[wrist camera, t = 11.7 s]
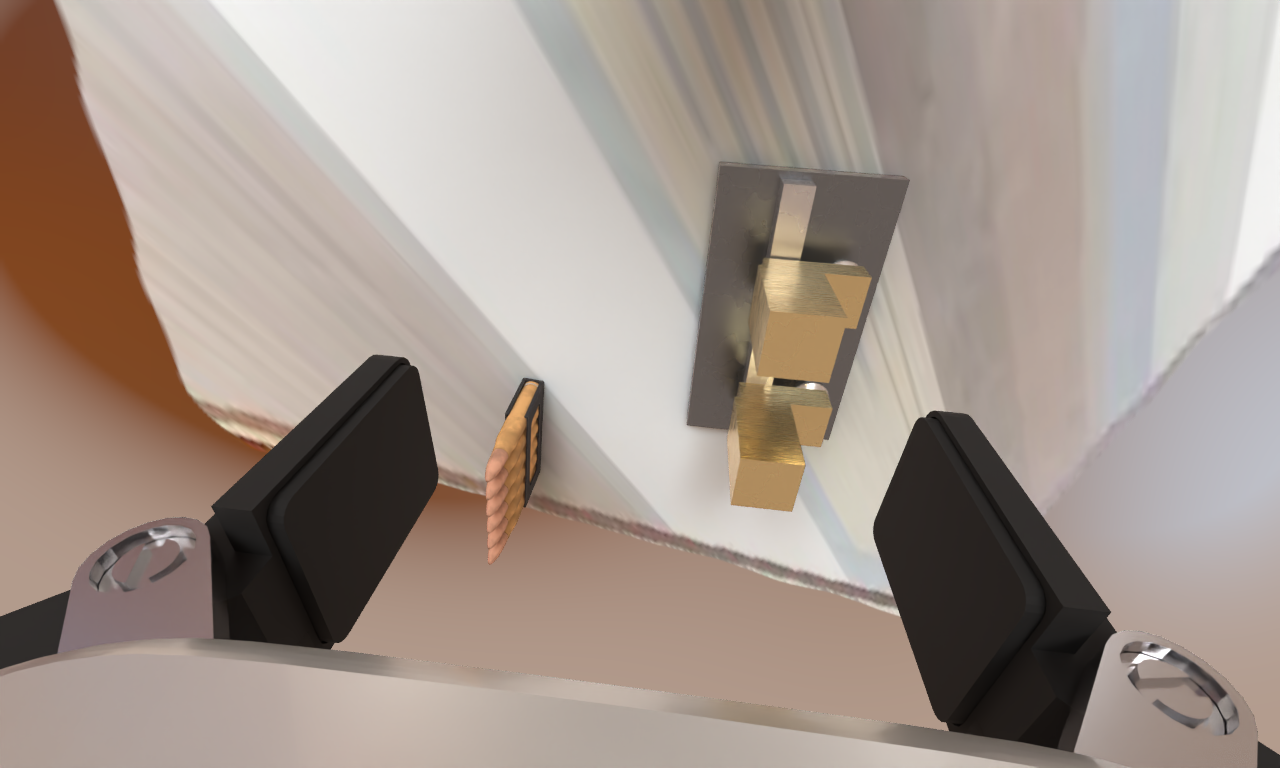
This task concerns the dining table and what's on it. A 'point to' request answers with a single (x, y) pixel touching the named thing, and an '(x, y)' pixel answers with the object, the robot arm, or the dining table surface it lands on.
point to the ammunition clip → (514, 464)
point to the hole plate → (724, 361)
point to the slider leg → (803, 316)
